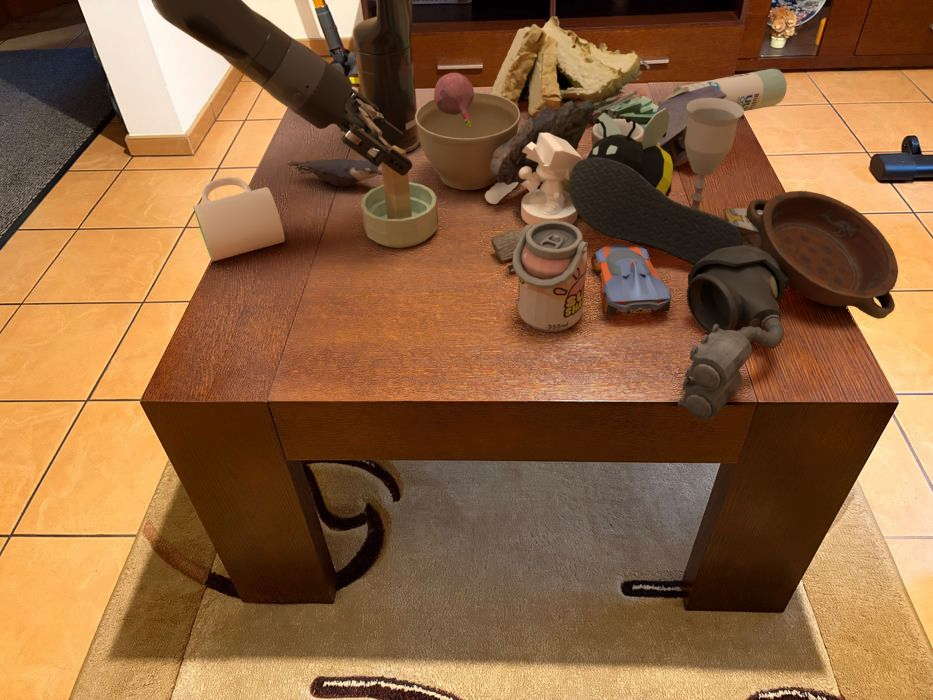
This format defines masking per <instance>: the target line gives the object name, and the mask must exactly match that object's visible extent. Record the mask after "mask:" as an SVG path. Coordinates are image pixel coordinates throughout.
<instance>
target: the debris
mask: <svg viewBox="0 0 933 700" xmlns="http://www.w3.org/2000/svg"><path fill="white" fill-rule="evenodd" d="M516 32H517V33H516V34H515V36H514V38H513V40H512V43H511V46H510V48H509V50H507V51H508V52H507V55H506V57H505V58H504V60H503V62H502V64H501V67H500V69H499V70H498V73H497V76H496V79H495V80H494V84H493V85H492V86H491V90H490V94H494V95H498V96H501V97H504V98H506V99H508V100H510V101H511V102H513V103H514V104H515V105H516V106H517V107H518V108H519V104H521V103H523V102H527V103H528V105H527V113H528V117H527V120H529V119H532V118H535V117H537V115H538V114H539V112H540V111H541V110H542V109H543V108H544V107H545V106H548V107H549V108H550V109H552V110H554V109H558V108H559V107H561V106H560V105H563V104H565V103H567V102H570V101H571V102H573V103H576V102H578V101H579V102H586V101H588V100H590V101H592V103H593V105H594V106H595V105H597V104H600V103H601V102H605V103H606V102H611V101H613V100H615V99H618V97H619V96H620V95H624V96H625V97H624V96H622V97H623V98H622V97H621V98H622V99H620V100H618V101H616V102H613V103H612V104H610V105H608V106H605V107H602V108H600V109H598V110H596V111H594V113H593V115H594V114H595V113H601V111H603V110H609V109H611V108H614V107H616V106H618V105H620V104H622V103H624V102H626V101H627V100H629V99H630V100H631V99H633V98H634V96H636V95H637V93H638V90H639V89H640V87H637V89H638V90H636V89H634V90H633V91H632V92H631V93H628V94H627V96H626V95H625V94H626V93H625V92H624V91H622V90H623V87H625V86H627V85H628V84H629V83H632V82H634V81H635V80H636V81H637V82H638V81H640V78H639V76H641V75H642V74H643V71H641V65H643V66H644V67H645V68H646V70H647V71H650V70H651V66H650V65H649V64H648V62H646V61H645V60H644V59H642V58H640V57H639V55H638V54H636V51H635V50H631V53H626V54H624V53H622V54H621V51H620V49H617V50H615V51H611V50H607V49H608V48H609V47H608V46H607V44H606V43H604V42H601V43H600V44H599V48H597V46H596V45H595V44H594V43H593V42H589V41H587V40H586V39H584V38H581V37H579V36H578V34H576V33H575V32H574V31H573V30H571V29H568V30H567V29H566V30H565V29H563V28H561V27H560V20H559V18H558V16H555V15H554V16H553V15H552V16H551V17H550V18H549V19H548V21H547V22H545V23H544V26H543V27H540V26H538V25H537V24H535V23H532V25H531V26H525V27H523V28H519V29H518V30H517V31H516ZM593 115H592V116H593ZM524 118H525V116H520V119H524Z"/></svg>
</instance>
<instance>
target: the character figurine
mask: <svg viewBox="0 0 933 700" xmlns="http://www.w3.org/2000/svg"><path fill="white" fill-rule="evenodd" d="M522 152H523V153H526V154H527V156H526V158H528V159H531V160H533V161H535V162H538V164H539V165H538V166H537V168H536V172H537V173H536V172H534V173H532V169H531V168H530V167H528V166H525V167H523V168H521V169H520V171H519V177H520V178H521V179H526V180H525V181H524V182H521V186H523V187H524V188H525V187H526V189H527V190H528V191H529V192H527V193H525V194H524V196H523V197H522V199H521V205H520V207H521V208H520V214H521V218H522V220H523V221H524V223H526V225H531V226H534V225H536V224H538V223H541V222H546V221H561V222H566V223H569V224H571V225H574V224H575V223H576V222H577V219H578V216H579V214H578V213H577V211H576V209H575V207H574V205H573V203H572V200H571V196H570V193H569V192H567V191H564V184H563V181H562V180H565V179H568V180H569V173H570V171H572V169H573V167H574V166H575V165H576V164H577V163H578V162H579V161H581V160H583V159H582V158H583V157H582V156H581V155H580V153H579V152H577V150H575V149H574V148H573V147H572V146H571V145H570V144H569V143H568V142H567V141H566V140H563V139H561V138H559V137H556V136H554V135H552V134H550V133H539V136H538V140H537V143H536V144H534V143H533V142H530V143H529V144H528V145H527V146H526V147H525V148H524V149H523V151H522ZM541 183H542V184H541ZM539 186H540V188H538V187H539Z"/></svg>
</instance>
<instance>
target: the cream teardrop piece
mask: <svg viewBox="0 0 933 700" xmlns="http://www.w3.org/2000/svg"><path fill="white" fill-rule="evenodd" d="M519 183H520V182H515V183H511V184H509V185H506V184H505V183H498V182H496V183H494V185H493V186H491V187H490V189H489V190H486V192H485V194H484V198H485V200H486V202H488V203H489V204H491V205H497V204H499V202H500V201H501V200H502V199H503V198H504V197H505V196H507V195H508V194H509V193H511V192H512V191H513V190H514V189H515V188H516V187H517V186H518V185H519Z"/></svg>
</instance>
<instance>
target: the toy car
mask: <svg viewBox="0 0 933 700" xmlns="http://www.w3.org/2000/svg"><path fill="white" fill-rule="evenodd" d="M590 265H591V266H592V268H593V270H594V271H595V272H597V273H599V275H600V278H601V287H600V288H601V290H602V293H601V294H602V296H603V299H602V307H603V312H604V314H605V315H608V316H609V315H617V312H618V311H620V312H622V313H626V316H630V314H634V313H635V314H639V313H650V314H652V315H655V313H654V312H653V311H656V313H666V312H669V311H670V308H671V300H672V294H671V290H670V288H669V287H668V286H667V285H666V284H665V283H664V281H662V279H661V278H660V277H659V274H658V273H657V272H656V270H655V268H654V266H653V264H652V262H651V259H650V255H649V252H648V250H647V249H646V248H645V247H642V246H638V245H634V244H613V245H605V246H603V247H601V248H599V249H598V250H597V251H596V252H595V253H594V254H593V256H591V259H590ZM652 310H653V311H652Z"/></svg>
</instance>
